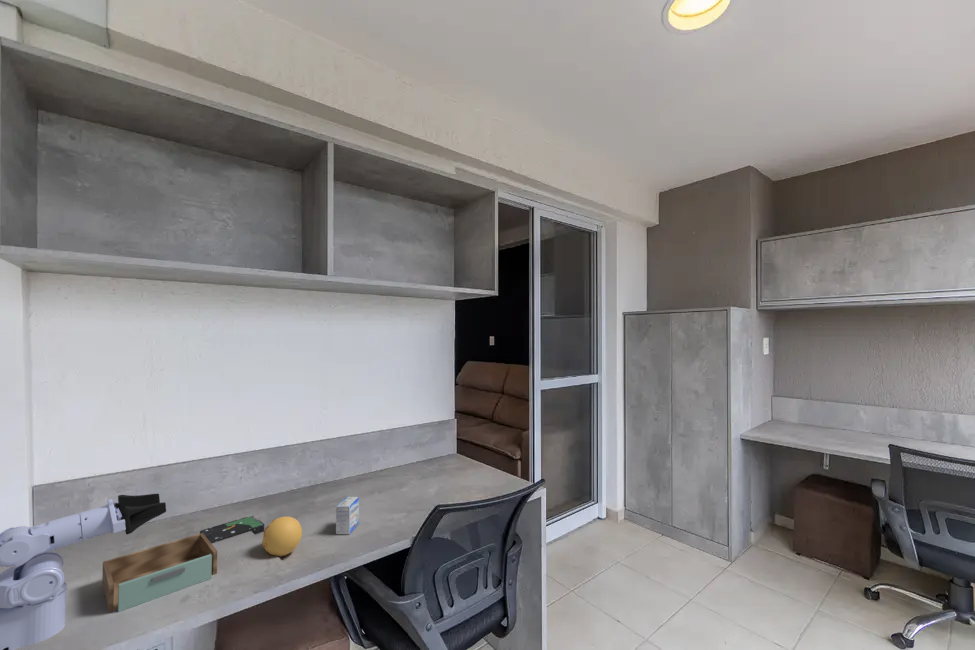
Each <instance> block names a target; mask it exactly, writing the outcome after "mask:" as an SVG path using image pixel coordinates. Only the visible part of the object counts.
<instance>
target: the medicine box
mask: <svg viewBox="0 0 975 650" xmlns="http://www.w3.org/2000/svg"><path fill="white" fill-rule="evenodd" d="M359 510H360V497H359V496H346V497H345V498H344V499H343V500H342V501H341V502H339V504H337V506H336V507H335V533H336V535H351V534H352V533H353V531H354V530H355V528H356V527H357V526H358V525H359V524H360V523H359V522H360V511H359Z"/></svg>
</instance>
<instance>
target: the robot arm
mask: <svg viewBox="0 0 975 650" xmlns="http://www.w3.org/2000/svg"><path fill="white" fill-rule="evenodd" d="M166 512H167V505H166V502H163V501H162V502H161V500H160V494H159V493H150V494H141V495H139V494H138V495H129V494H126V495H125V494H119V495H117V501H113V498H108V499H107V503H106V504H105V505H102V506H100V507H95V508H92V509H88V510H85V511H82V512H78V513H74V514H70V515H67V516H64V517H60V518H56V519H53V520H49V521H47V522H44V523H41V524H37V525H33V526H26V525H24V526H23V525H21V526H19V525H18V526H15V527H13V526H11V527H9V528H6V529H5V530H3V531H2V532H0V567H2V568H3V567H6V568H7V569H5V570H4V571H2V572H1V573H0V650H18V649H20V648H24V647H27V646H31V645H35V644H39V643H40V642H44V641H46V640H48V639H50V638H52V637H53V636H56V635H57V634H59V633H60V632H61V631H63V629H64V628H65V626H66V615H67V614H66V613H67V611H66V610H67V608H66V607H67V586H68V585H67V583H66V582H65V573H64V559H63V557H62V555H61V554H59V553H57V552H54V550H57V549H60V548H61V549H62V548H64V547H67V546H71V545H74V544H76V543H80V542H82V541H86V540H89V539H93V538H96V537H99V536H101V535H105V534H108V533H113V534H117V533H119V532H123V531H124V532H125V534H126V535H130V534H132V533H134V532H135V531H136V530H137V529H138V528H140V527H142V526H143V525H145V524H146V523H147V522H149V521H152V520H153V519H155V518H157V517H159V516H161V515H164V514H165V513H166ZM8 567H9V568H8Z"/></svg>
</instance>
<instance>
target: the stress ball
mask: <svg viewBox="0 0 975 650" xmlns="http://www.w3.org/2000/svg"><path fill="white" fill-rule="evenodd" d="M262 533H263V535H262V541H261V545H262V548H264V549H265V551H266V552H267V553H269V554H270V555H272V556H277V557H279V558H281V557H286V556H287V555H288V554H291V552H293V551H294V550H295V549H296V548H297V547H298V545H299V544H300V543H301V540H302V537H303V528H302V524H300V522H299V520H297V519H296V518H294V517H292V516H280V517H278V518H277V517H276V518H275V519H273V520H272V521H271V522H270V523H269V524H268V525H267V526H266V527H265V528H264V532H262Z"/></svg>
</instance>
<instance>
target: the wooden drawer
mask: <svg viewBox="0 0 975 650" xmlns="http://www.w3.org/2000/svg"><path fill="white" fill-rule="evenodd" d="M209 554H211V555H212V571H211V577H212V576H215V575H217V574H218V550H217V548H215V546H214V544H213V543H212V544H211V543H210V541H209V540H208V539H207V537H206V536H205V535H204V534H203V533H200V532H199V533H197V534H194V535H190V536H187V537H184V538H180V539H179V538H178V539H177V540H173V541H170V542H167V543H166V542H165V543H162V544H160V545H156V546H152V547H148V548H145V549H142V550H138V551H135V552H132V553H128V554H125V555H122V556H118V557H114V558H111V559H107V560H104V561H102V574H101V575H102V576H101V578H102V579H101V581H102V582H101V586H102V591H103V595H104V599H105V605H106V609H107V612H108V613H112V612H114V611H118V589H119V584H120V583H123V582H126V581H129V580H132V579H135V578H138V577H142V576H145V575H148V574H151V573H154V572H157V571H160V570H163V569H166V568H169V567H172V566H175V565H178V564H181V563H185V562H188V561H191V560H194V559H197V558H200V557H203V556H206V555H209Z"/></svg>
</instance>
